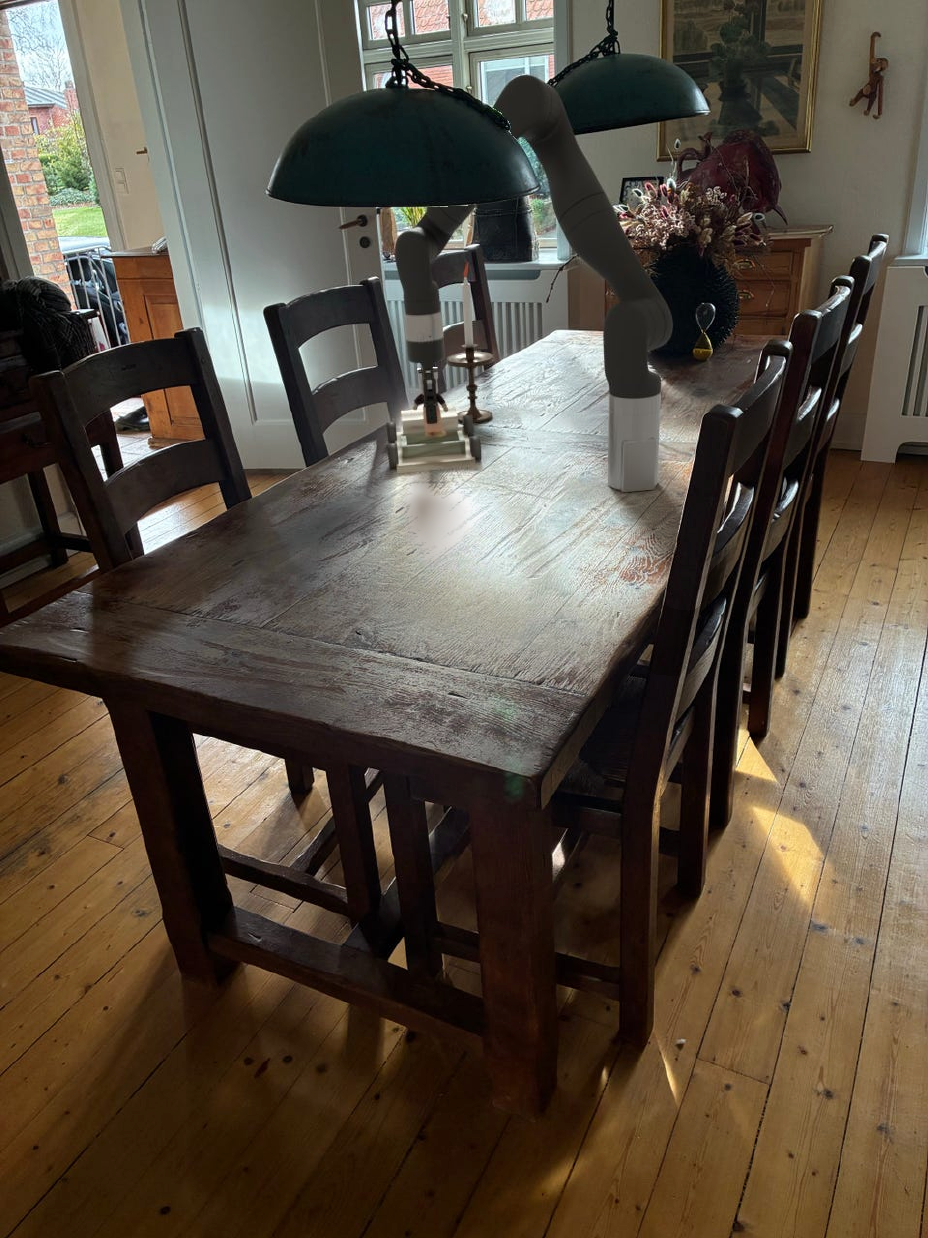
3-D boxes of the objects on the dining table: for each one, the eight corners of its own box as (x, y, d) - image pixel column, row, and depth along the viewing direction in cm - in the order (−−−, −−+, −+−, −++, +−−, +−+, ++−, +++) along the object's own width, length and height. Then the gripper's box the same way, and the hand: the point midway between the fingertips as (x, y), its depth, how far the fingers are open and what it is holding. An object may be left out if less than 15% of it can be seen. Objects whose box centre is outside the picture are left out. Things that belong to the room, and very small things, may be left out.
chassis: (482, 465, 187) (481, 434, 184) (389, 473, 186) (386, 442, 183) (471, 432, 208) (470, 403, 205) (388, 439, 207) (385, 411, 204)
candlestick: (497, 411, 222) (490, 257, 206) (494, 424, 213) (487, 264, 196) (453, 413, 224) (442, 260, 207) (448, 425, 214) (437, 266, 198)
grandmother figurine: (451, 431, 194) (447, 371, 188) (449, 437, 190) (445, 375, 185) (416, 433, 195) (410, 372, 189) (413, 438, 191) (407, 377, 185)
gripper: (445, 341, 177) (451, 428, 185) (441, 327, 189) (447, 410, 198) (407, 344, 177) (414, 431, 185) (405, 330, 189) (412, 413, 197)
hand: (431, 420), depth 191 cm, fingers closed on grandmother figurine, 3 cm apart
